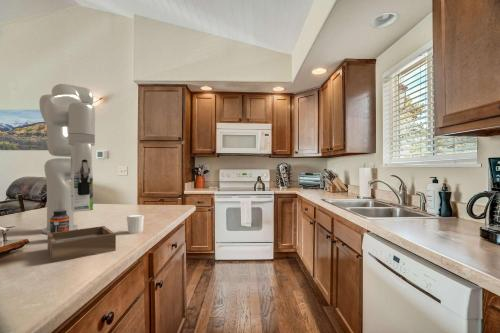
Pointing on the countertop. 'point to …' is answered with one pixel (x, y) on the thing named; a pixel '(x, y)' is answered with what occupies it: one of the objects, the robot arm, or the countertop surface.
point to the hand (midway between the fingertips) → (81, 193)
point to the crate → (80, 243)
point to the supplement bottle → (59, 221)
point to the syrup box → (81, 200)
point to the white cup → (135, 223)
